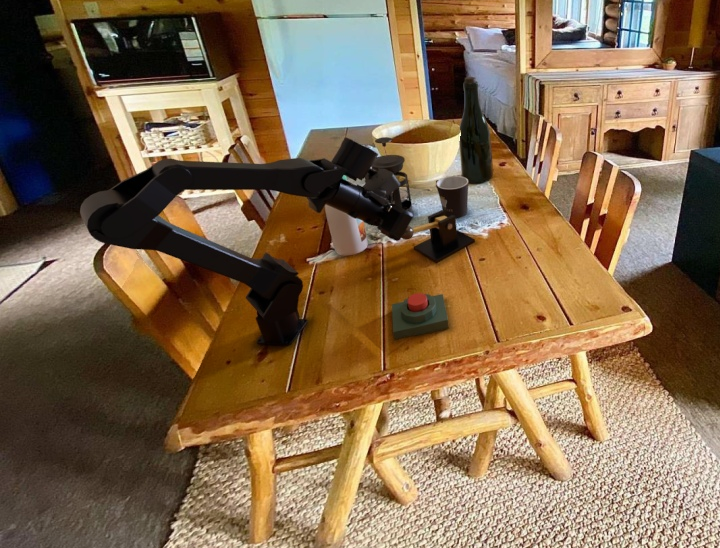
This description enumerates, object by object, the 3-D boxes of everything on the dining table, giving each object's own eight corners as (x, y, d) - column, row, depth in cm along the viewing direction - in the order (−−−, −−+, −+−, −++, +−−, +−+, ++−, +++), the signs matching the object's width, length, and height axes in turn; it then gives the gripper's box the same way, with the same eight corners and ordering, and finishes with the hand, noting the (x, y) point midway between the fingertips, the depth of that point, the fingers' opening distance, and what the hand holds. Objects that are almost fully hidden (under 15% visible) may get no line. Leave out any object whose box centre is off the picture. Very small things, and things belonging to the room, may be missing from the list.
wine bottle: (466, 186, 141) (457, 82, 126) (458, 174, 149) (448, 75, 134) (497, 180, 145) (492, 79, 130) (488, 169, 153) (481, 72, 138)
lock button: (409, 314, 83) (407, 307, 82) (408, 302, 86) (406, 295, 85) (428, 310, 84) (427, 302, 83) (426, 298, 87) (425, 291, 86)
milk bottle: (357, 258, 105) (339, 183, 96) (328, 255, 107) (308, 180, 98) (374, 241, 112) (359, 169, 103) (347, 238, 113) (330, 166, 104)
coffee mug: (474, 218, 122) (471, 186, 118) (443, 224, 119) (439, 191, 115) (464, 200, 132) (462, 170, 127) (436, 205, 129) (432, 174, 125)
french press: (410, 205, 130) (398, 130, 119) (421, 218, 123) (409, 140, 112) (369, 215, 124) (353, 138, 113) (378, 230, 117) (361, 149, 106)
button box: (394, 340, 82) (391, 324, 80) (393, 312, 88) (390, 297, 87) (449, 328, 84) (446, 312, 83) (443, 302, 91) (441, 286, 89)
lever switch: (436, 264, 103) (432, 232, 99) (414, 250, 108) (409, 219, 104) (475, 243, 111) (472, 212, 107) (452, 231, 116) (449, 201, 112)
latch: (404, 243, 97) (404, 230, 96) (396, 238, 99) (396, 225, 98) (450, 229, 107) (451, 217, 106) (442, 225, 109) (442, 213, 108)
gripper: (397, 175, 82) (449, 206, 94) (346, 151, 92) (399, 182, 105) (366, 228, 80) (423, 252, 92) (318, 198, 91) (375, 223, 103)
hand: (405, 225), depth 98 cm, fingers closed, pressing on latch
